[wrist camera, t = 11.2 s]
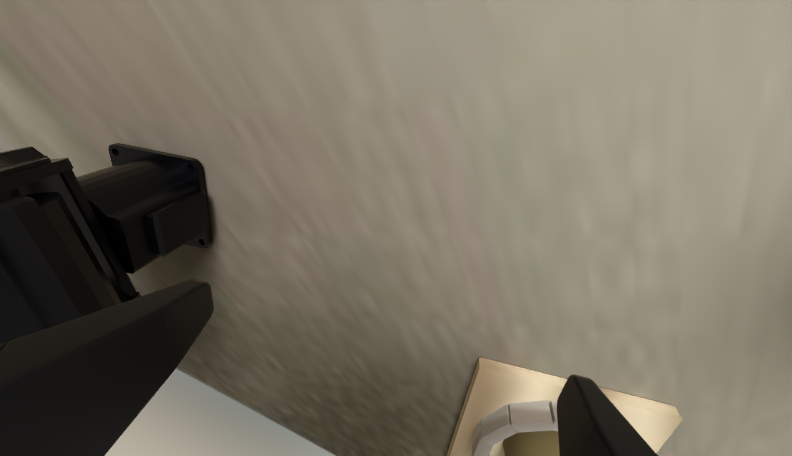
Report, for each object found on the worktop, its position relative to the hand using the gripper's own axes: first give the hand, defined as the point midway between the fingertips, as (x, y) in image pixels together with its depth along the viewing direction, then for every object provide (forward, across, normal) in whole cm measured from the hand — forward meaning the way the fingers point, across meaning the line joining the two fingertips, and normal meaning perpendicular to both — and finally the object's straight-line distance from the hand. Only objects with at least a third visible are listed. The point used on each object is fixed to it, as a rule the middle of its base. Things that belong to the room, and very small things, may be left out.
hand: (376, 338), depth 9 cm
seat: (+13, -12, +19) cm, 26 cm away
